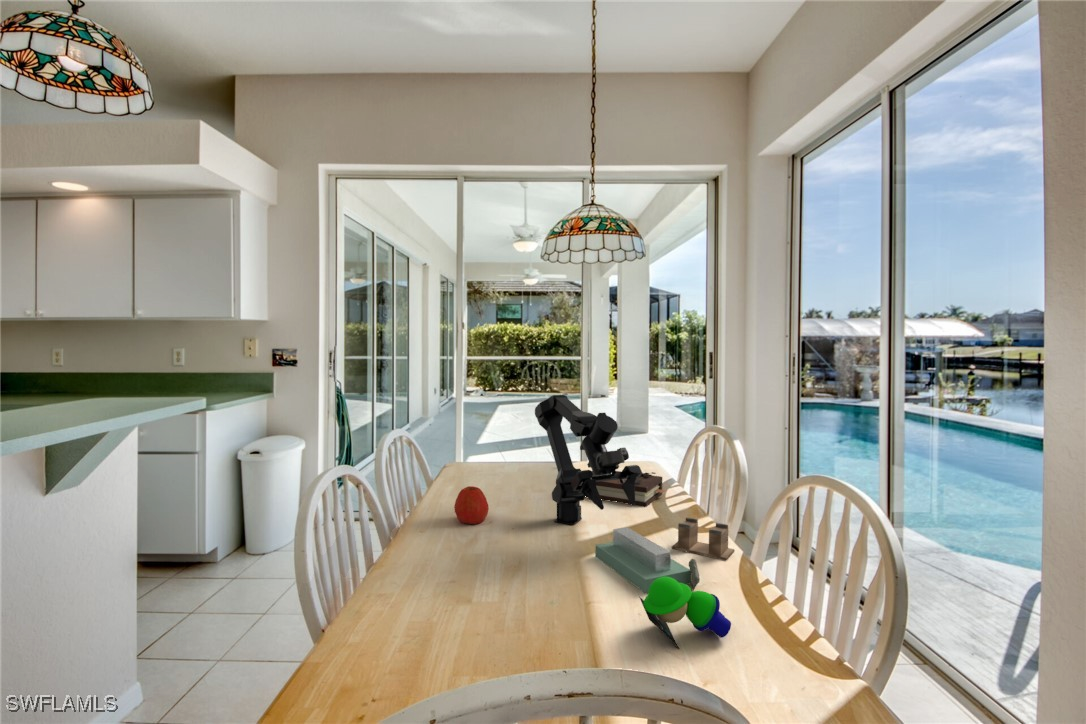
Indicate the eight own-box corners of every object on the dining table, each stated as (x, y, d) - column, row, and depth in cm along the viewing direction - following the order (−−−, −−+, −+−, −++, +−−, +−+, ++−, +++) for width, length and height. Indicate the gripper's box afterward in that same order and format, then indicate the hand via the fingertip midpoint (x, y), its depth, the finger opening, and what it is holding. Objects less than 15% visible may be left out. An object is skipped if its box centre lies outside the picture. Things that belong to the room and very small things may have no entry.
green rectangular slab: (595, 556, 138) (595, 544, 138) (636, 549, 143) (636, 538, 143) (645, 593, 118) (645, 579, 118) (690, 583, 123) (691, 570, 123)
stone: (701, 593, 118) (702, 570, 118) (692, 592, 119) (692, 569, 119) (695, 569, 131) (695, 548, 131) (686, 568, 131) (686, 547, 131)
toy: (686, 642, 107) (631, 589, 106) (725, 602, 106) (671, 549, 106) (702, 672, 97) (642, 614, 96) (745, 628, 97) (686, 570, 96)
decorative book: (592, 464, 209) (670, 474, 194) (592, 484, 209) (669, 495, 194) (569, 475, 192) (652, 486, 177) (569, 497, 192) (652, 510, 177)
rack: (672, 548, 144) (672, 522, 143) (681, 540, 149) (681, 515, 149) (726, 560, 136) (726, 533, 135) (734, 551, 141) (734, 525, 141)
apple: (451, 517, 169) (451, 483, 168) (484, 514, 172) (484, 481, 171) (457, 528, 159) (456, 492, 159) (492, 524, 162) (491, 489, 162)
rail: (613, 545, 138) (613, 529, 138) (626, 542, 139) (626, 527, 139) (655, 572, 121) (655, 554, 121) (670, 569, 123) (670, 552, 123)
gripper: (576, 439, 139) (597, 494, 130) (638, 434, 147) (663, 486, 137) (562, 464, 147) (581, 517, 137) (622, 458, 154) (644, 508, 145)
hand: (618, 506), depth 139 cm, fingers open, 9 cm apart
